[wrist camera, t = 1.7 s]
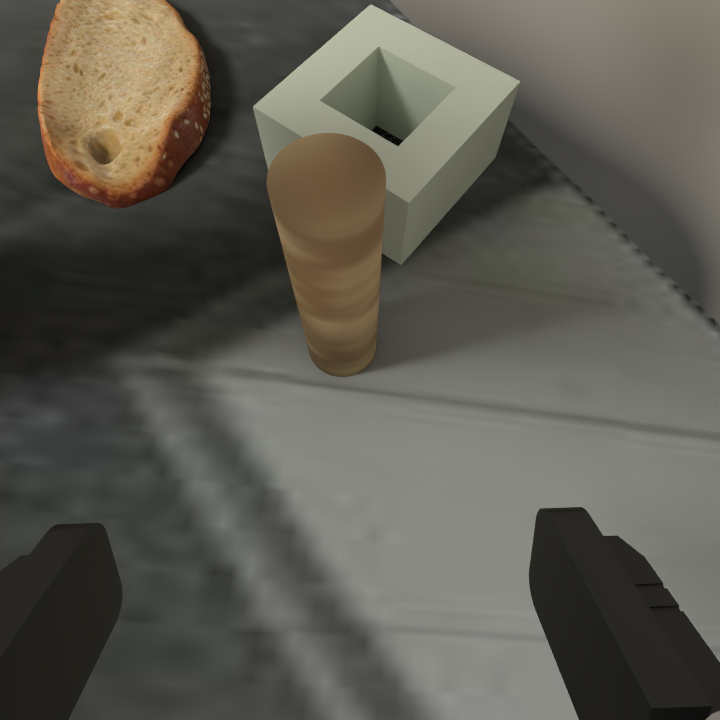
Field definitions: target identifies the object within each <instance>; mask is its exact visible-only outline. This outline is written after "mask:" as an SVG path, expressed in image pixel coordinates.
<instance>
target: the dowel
mask: <svg viewBox="0 0 720 720" xmlns="http://www.w3.org/2000/svg"><path fill="white" fill-rule="evenodd" d="M267 190H268V194H269V198H270V202H271V206H272V210H273V214H274V217H275V221H276V225H277V229H278V233H279V237H280V241H281V245H282V248H283V252H284V256H285V260H286V264H287V268H288V272H289V275H290V279H291V283H292V287H293V291H294V295H295V299H296V303H297V306H298V310H299V314H300V318H301V322H302V326H303V330H304V334H305V337H306V341H307V345H308V349H309V353H310V356H311V358H312V360H313V362H314V363H315V365H316V366H317V367H318V368H319V369H320V370H322V371H323V372H325V373H327V374H330V375H333V376H338V377H346V376H351V375H355V374H357V373H359V372H361V371H362V370H364V369H365V368H366V367H367V366H368V365H369V364H370V363H371V361H372V360H373V358H374V355H375V352H376V343H377V326H378V309H379V292H380V275H381V259H382V242H383V225H384V208H385V191H386V172H385V168H384V165H383V163H382V161H381V159H380V157H379V156H378V155H377V153H376V152H375V151H374V150H373V149H372V148H371V147H370V146H368V145H367V144H365V143H364V142H362V141H360V140H358V139H356V138H354V137H351V136H347V135H344V134H338V133H319V134H313V135H309V136H305V137H303V138H300V139H298V140H296V141H294V142H292V143H290V144H289V145H287V146H286V147H285V148H283V149H282V150H281V151H280V152H279V153H278V154H277V156H276V157H275V158H274V160H273V161H272V163H271V165H270V167H269V170H268V174H267Z"/></svg>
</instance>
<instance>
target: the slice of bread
mask: <svg viewBox="0 0 720 720" xmlns="http://www.w3.org/2000/svg"><path fill="white" fill-rule="evenodd" d="M210 92H211V87H210V74H209V71H208V68H207V63H206V59H205V56H204V53H203V51H202V49H201V46H200V44H199V42H198V41H197V39H196V38H195V37H194V35H192V34H191V33H190V32H189V30H188V29H187V28H186V26H185V24H184V22H183V20H182V18H181V16H180V15H179V13H178V12H177V11H176V9H175V8H174V7H172V6H171V5H170V4H169V3H168V2H167V1H166V0H61V1H60V3H59V4H58V3H57V7H56V11H55V18H53V20H52V22H51V23H50V31H49V33H48V36H47V42H46V45H45V49H44V55H43V58H42V67H41V72H40V79H39V86H38V105H39V106H38V115H39V121H40V128H41V135H42V140H43V145H44V151H45V155H46V158H47V161H48V164H49V167H50V169H51V171H52V172H53V174H54V176H55V177H56V178H57V179H58V180H60V181H61V182H62V183H63V184H64V185H65V186H67V187H68V188H69V189H71V190H73V191H74V192H76V193H77V194H79V195H81V196H83V197H85V198H87V199H91V200H94V201H97V202H100V203H102V204H104V205H106V206H108V207H111V208H124V207H128V206H131V205H134V204H136V203H139V202H142V201H144V200H147V199H149V198H152V197H154V196H156V195H158V194H160V193H162V192H164V191H165V190H167V189H168V188H169V187H170V186H171V184H172V182H173V180H174V178H175V176H176V174H177V173H178V171H179V170H180V168H181V167H182V165H183V164H184V163H185V161H186V160H187V159H188V158H189V157H190V156H191V155H192V154H193V153H194V152H195V151H196V149H197V148H198V147H199V145H200V143H201V141H202V139H203V137H204V135H205V132H206V129H207V126H208V124H209V120H210V108H211V95H210Z"/></svg>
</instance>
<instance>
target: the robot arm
mask: <svg viewBox="0 0 720 720" xmlns="http://www.w3.org/2000/svg"><path fill="white" fill-rule="evenodd" d="M529 583H530V591H531V596H532V600H533V604H534V607H535V610H536V612H537V615H538V617H539V620H540V622H541V625H542V627H543V630H544V632H545V635H546V638H547V640H548V643H549V645H550V648H551V650H552V653H553V655H554V658H555V660H556V663H557V665H558V668H559V670H560V673H561V675H562V678H563V680H564V683H565V685H566V688H567V690H568V693H569V695H570V698H571V701H572V703H573V706H574V708H575V711H576V713H577V716H578V718H579V720H720V662H719V661H718V660H717V658H716V657H715V655H714V654H713V653H712V651H711V650H710V648H709V647H708V646H707V644H706V643H705V641H704V640H703V639H702V637H701V636H700V634H699V633H698V632H697V630H696V629H695V627H694V626H693V624H692V623H691V622H690V620H689V619H688V617H687V616H686V615H685V613H684V612H683V611H680V609H679V605H678V603H677V602H676V601H675V599H674V598H673V596H672V595H671V594H670V592H669V591H668V589H664V587H663V582H662V581H661V580H660V578H659V577H658V575H657V574H656V573H655V571H654V570H653V568H652V567H651V566H650V564H649V563H648V561H647V560H646V558H645V557H644V556H642V555H641V554H640V553H639V552H637V551H636V550H635V549H634V548H632V547H631V546H630V545H629V544H627V543H626V542H625V541H623V540H622V539H621V538H620V537H618V536H603V535H602V533H601V532H600V530H599V529H598V527H597V526H596V524H595V523H594V521H593V520H592V518H591V516H590V515H589V513H588V512H587V511H586V510H585V509H584V508H582V507H571V508H543V509H540V510H539V511H538V513H537V516H536V523H535V531H534V538H533V546H532V553H531V561H530V569H529ZM121 604H122V584H121V580H120V577H119V573H118V570H117V566H116V563H115V559H114V556H113V552H112V549H111V545H110V542H109V538H108V535H107V532H106V529H105V528H104V526H103V525H102V524H100V523H85V524H59V525H55V526H53V527H52V528H50V529H49V531H48V532H47V533H46V534H45V535H44V537H43V538H42V539H41V540H40V542H39V543H38V544H37V546H36V547H35V548H34V549H33V551H32V552H31V553H30V554H29V555H22V556H20V557H18V558H17V559H16V560H15V561H13V562H12V563H11V564H9V565H8V566H7V567H5V568H4V569H3V570H1V571H0V720H68V719H69V717H70V715H71V713H72V711H73V709H74V707H75V705H76V703H77V701H78V699H79V697H80V695H81V693H82V691H83V689H84V687H85V685H86V683H87V680H88V678H89V676H90V674H91V672H92V670H93V668H94V666H95V664H96V662H97V660H98V658H99V656H100V654H101V652H102V650H103V648H104V646H105V644H106V642H107V640H108V638H109V636H110V634H111V632H112V630H113V628H114V626H115V624H116V621H117V619H118V616H119V613H120V609H121Z"/></svg>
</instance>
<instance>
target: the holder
mask: <svg viewBox="0 0 720 720" xmlns="http://www.w3.org/2000/svg"><path fill="white" fill-rule="evenodd" d="M519 83H520V81H518V80H516V79H514V78H513V77H511V76H509V75H507V74H505V73H503V72H501V71H499V70H497V69H495V68H493V67H491V66H489V65H487V64H485V63H483V62H481V61H480V60H477V59H476V58H474V57H472V56H470V55H468V54H466V53H464V52H462V51H460V50H458V49H456V48H454V47H452V46H450V45H448V44H447V43H445V42H443V41H441V40H439V39H437V38H435V37H433V36H431V35H429V34H427V33H425V32H423V31H421V30H419V29H417V28H415V27H414V26H412V25H410V24H408V23H406V22H404V21H402V20H400V19H398V18H396V17H394V16H392V15H390V14H388V13H386V12H384V11H382V10H381V9H379V8H377V7H375V6H373V5H370V6H368V7H367V8H366V9H365V10H364V11H363V12H361V13H360V14H359V15H358V16H357V17H356V18H355V19H353V20H352V21H351V22H350V23H349V24H348V25H347V26H345V27H344V28H343V29H342V30H341V31H340V32H338V33H337V34H336V35H335V36H334V37H333V38H332V39H330V40H329V41H328V42H327V43H326V44H325V45H323V46H322V47H321V48H320V49H319V50H318V51H317V52H315V53H314V54H313V55H312V56H311V57H310V58H309V59H307V60H306V61H305V62H304V63H303V64H302V65H300V66H299V67H298V68H297V69H296V70H295V71H294V72H292V73H291V74H290V75H289V76H288V77H287V78H285V79H284V80H283V81H282V82H281V83H280V84H279V85H277V86H276V87H275V88H274V89H273V90H272V91H271V92H269V93H268V94H267V95H266V96H265V97H264V98H262V99H261V100H260V101H259V102H258V103H257V104H256V105H254V106H253V109H254V113H255V117H256V121H257V125H258V130H259V134H260V138H261V142H262V146H263V150H264V154H265V158H266V163H267V167H268V170H269V167H270V165H271V163H272V161H273V160H274V158H275V157H276V156H277V154H278V153H279V152H280V151H281V150H282V149H283V148H285V147H286V146H287V145H289V144H290V143H292V142H294V141H296V140H298V139H300V138H303V137H305V136H309V135H313V134H319V133H338V134H344V135H347V136H351V137H354V138H356V139H358V140H360V141H362V142H364V143H365V144H367V145H368V146H370V147H371V148H372V149H373V150H374V151H375V152H376V153H377V155H378V156H379V157H380V159H381V161H382V163H383V165H384V168H385V172H386V191H385V208H384V225H383V242H382V253H383V254H384V255H386V256H387V257H389V258H390V259H392V260H393V261H395V262H396V263H398V264H399V265H402V264H403V263H404V262H405V261H406V259H407V258H408V257H409V256H410V255H411V254H412V253H413V251H414V250H415V249H416V248H417V247H418V246H419V245H420V243H421V242H422V241H423V240H424V239H425V238H426V237H427V235H428V234H429V233H430V232H431V231H432V230H433V229H434V227H435V226H436V225H437V224H438V223H439V222H440V221H441V219H442V218H443V217H444V216H445V215H446V214H447V213H448V211H449V210H450V209H451V208H452V207H453V206H454V205H455V203H456V202H457V201H458V200H459V199H460V198H461V197H462V195H463V194H464V193H465V192H466V191H467V190H468V189H469V187H470V186H471V185H472V184H473V183H474V182H475V181H476V179H477V178H478V177H479V176H480V175H481V174H482V173H483V171H484V170H485V169H486V168H487V167H488V166H489V165H490V163H491V162H492V161H493V160H494V159H495V157H496V154H497V151H498V148H499V145H500V142H501V139H502V136H503V133H504V130H505V127H506V124H507V121H508V118H509V115H510V111H511V108H512V105H513V102H514V99H515V96H516V93H517V90H518V87H519ZM376 126H378V127H380V128H381V129H383V130H385V131H387V132H388V133H390V134H392V135H393V136H395V137H397V138H399V139H400V140H402V141H403V142H402V143H401V144H400V145H399V146H396V145H394V144H393V143H391V142H389V141H388V140H386V139H384V138H383V137H381V136H379V135H377V134H376V133H374V132H372V131H371V130H372V129H374V128H375V127H376Z"/></svg>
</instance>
